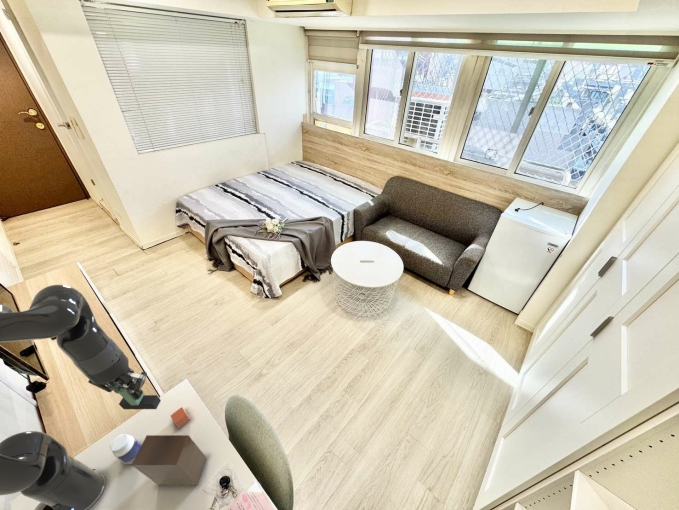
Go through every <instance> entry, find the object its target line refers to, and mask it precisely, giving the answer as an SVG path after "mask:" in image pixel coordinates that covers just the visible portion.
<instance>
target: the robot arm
mask: <svg viewBox="0 0 679 510" xmlns="http://www.w3.org/2000/svg"><path fill="white" fill-rule="evenodd" d="M55 337H56V344H57V346H58V348H59V349H60V350H61V351H62V352H63V353H64V354H65V355H66V357H68V358H69V359H70V361H72V363H73V365H74V366H75V367H76V368H77V369H78V370H79V371H80V372H81V373H82V374H83V375H84V376H85V377H86V378H87V379H88V381H87V383H88V384H91V385H92V386H94V387H97V388H99V389H101V390H103V391H105V392H107V393H112V392H114V393H115V394H119V395H120V396H121V394H120V393H119V390H120V389H122V390H127V391H128V392H129V393H130V395H131V396H132V397H133V398H134V399H135V400H138V399H139V398H140V397H141V395H142V393H144V390H143V389H142V388H143V386H144V384H146V380H147V374H148V373H147V372H146V371H141V373H136V372H135V370H134V369H132V368H130V367H129V366H130V365H129V363H130V362H129V358H128V356H127V355H126V354H125V352H123V350H122V349H121V348H120V347H119V345H118V344H117V343H116V342H115V340H113V338H111V337H110V336H109V335H108V334H107V332H105V330H104V329H103V328H102V327H101V326H100V325H99V324H98V322H97V320H96V316H95V315H94V313H93V310H92V308H91V306H90V304H89V302H88V301H87V299H86V298H85V296H84V295H83V293H81V292H80V291H79V290H78V289H76V288H75V287H73V286H69V285H66V284H51V285H48V286H46V287H44V288H42V289H40V290H39V291H38V292H37V293H36V294H35V295H34V297H33V299H32V301H31V304H30V306H29V308H28V309H26V310H22V311H14V309H13V308H12V307H11V306H8V305H6V304H3V303H0V343H10V342H14V343H15V342H24V341H35V340H36V341H37V340H46V339H51V338H55ZM132 384H133V385H132ZM131 385H132V386H131ZM106 480H107V479H106V477H105V476H104V475H103V474H101V473H99V472H97V471H96V468H91V467H89V466H88V465H86V464H84V463H83V462H81V461H79V460H77V458H75V457H72V455H70V454H68V451H67V448H66V447H65V446H64V445H63V444H62V443H60V442H59V441H58V440H57V439H55V438H54V437H53V436H51V435H50V434H48V433H45V432H43V431H37V430H29V431H21V432H19V433H16V434H13V435H10V436H8V437H6V438H5V439H3V440H2V441H1V442H0V496H8V495H13V494H17V493H20V494H21V495H22V496H24V497H27V498H29V499H32V500H34V501H37V502H39V503H41V504H44V505H47V506H49V507H51V508H52V510H90V509H91V508H92V507H93V506H94V505H95V504H96V503H97V502H98V500H99V499H100V498H101V497H102V495H103V493H104V491H105V489H106V483H107V481H106Z"/></svg>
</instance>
